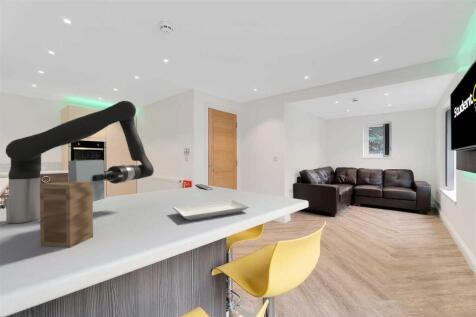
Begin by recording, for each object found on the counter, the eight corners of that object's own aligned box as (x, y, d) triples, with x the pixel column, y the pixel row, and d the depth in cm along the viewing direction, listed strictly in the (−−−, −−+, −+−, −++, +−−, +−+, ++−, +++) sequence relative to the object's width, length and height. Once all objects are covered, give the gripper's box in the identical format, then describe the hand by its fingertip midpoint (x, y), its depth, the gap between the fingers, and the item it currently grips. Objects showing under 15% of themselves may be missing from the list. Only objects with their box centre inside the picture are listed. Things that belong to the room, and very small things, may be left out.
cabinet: (70, 247, 61) (69, 184, 61) (35, 245, 63) (34, 184, 63) (103, 232, 74) (103, 180, 74) (73, 230, 75) (73, 179, 75)
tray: (250, 213, 99) (250, 205, 99) (183, 224, 83) (183, 215, 83) (232, 206, 114) (232, 199, 114) (172, 214, 97) (172, 206, 97)
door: (77, 205, 71) (76, 161, 71) (69, 205, 72) (68, 161, 72) (104, 198, 83) (103, 160, 83) (97, 198, 84) (96, 160, 83)
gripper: (106, 165, 96) (71, 168, 79) (135, 165, 94) (106, 168, 77) (107, 182, 96) (72, 188, 79) (135, 182, 94) (106, 188, 77)
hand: (89, 178), depth 78 cm, fingers closed on door, 3 cm apart
